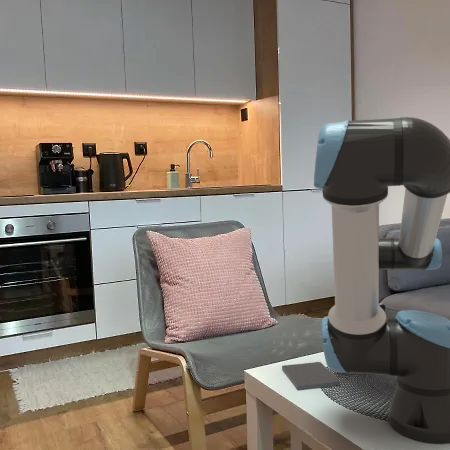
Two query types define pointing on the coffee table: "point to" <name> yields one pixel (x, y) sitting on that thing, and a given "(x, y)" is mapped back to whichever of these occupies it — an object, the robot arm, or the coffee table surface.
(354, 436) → the coffee table surface
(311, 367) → the plate
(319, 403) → the coffee table surface
